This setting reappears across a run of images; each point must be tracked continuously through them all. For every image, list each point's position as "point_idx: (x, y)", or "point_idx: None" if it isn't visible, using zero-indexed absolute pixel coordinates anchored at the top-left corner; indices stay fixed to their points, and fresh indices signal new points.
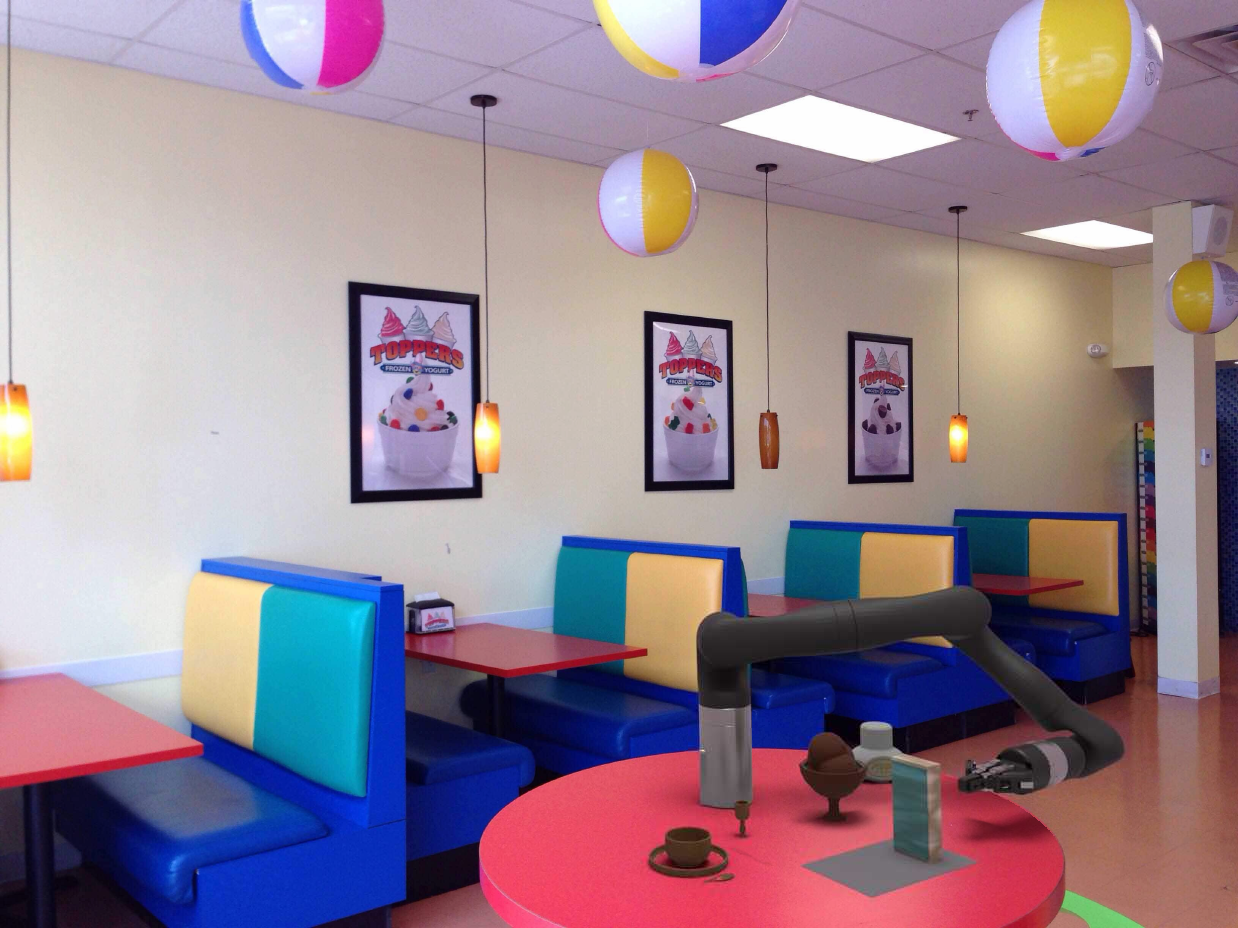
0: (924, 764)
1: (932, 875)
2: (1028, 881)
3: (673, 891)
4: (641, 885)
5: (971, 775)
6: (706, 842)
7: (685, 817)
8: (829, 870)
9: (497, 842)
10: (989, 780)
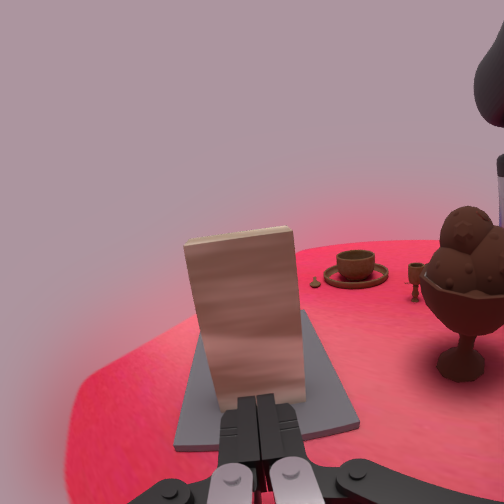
0: (205, 238)
1: (192, 376)
2: (92, 454)
3: (306, 271)
4: (324, 265)
5: (266, 436)
6: (340, 261)
7: None
8: None
9: (410, 240)
10: (202, 483)
